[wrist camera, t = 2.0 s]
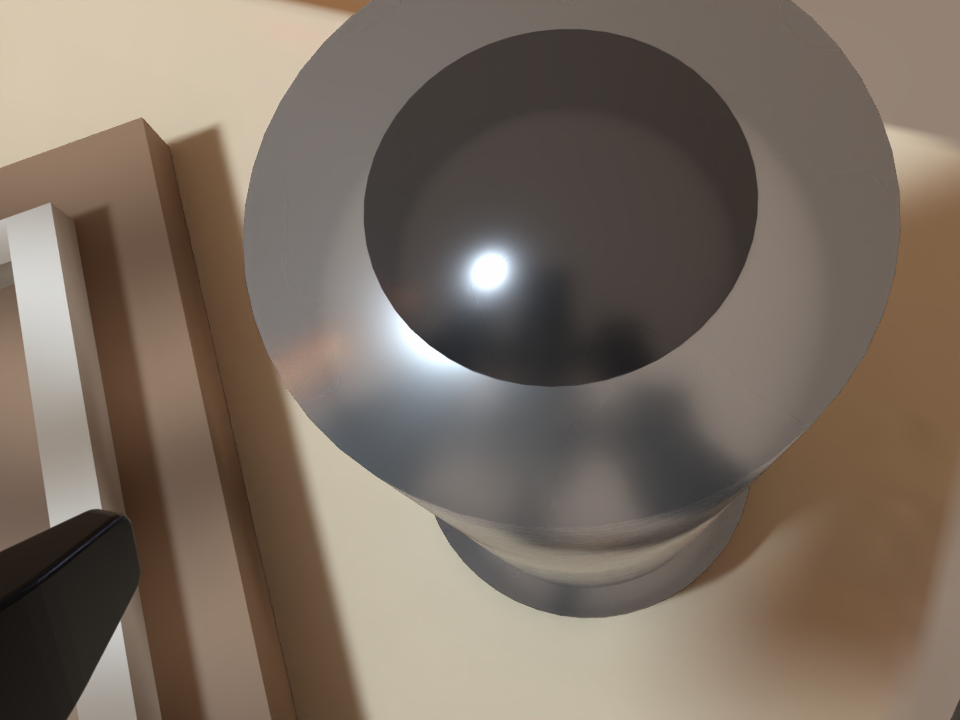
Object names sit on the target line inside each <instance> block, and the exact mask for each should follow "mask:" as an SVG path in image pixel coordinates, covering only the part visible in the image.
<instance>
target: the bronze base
mask: <svg viewBox="0 0 960 720" xmlns="http://www.w3.org/2000/svg"><path fill="white" fill-rule="evenodd" d="M91 509H102V510H107V511H113V512H118V513H123V514H124V515H127V517H128V518H129V519H130V521H131V523H132V527H133V532H134V537H135V541H136V546H137V551H138V556H139V560H140V565H141V575H140V581H139V584H138V587H137V589H136V591H135V593H134V595H133V597H132V599H131V601H130V603H129V605H128V607H127V609H126V611H125V613H124V615H123V617H122V618H121V620H120V622H119V624H118V626H117V628H116V630H115V632H114V634H113V636H112V638H111V640H110V642H109V644H108V645H107V647H106V649H105V651H104V653H103V655H102V657H101V659H100V661H99V663H98V665H97V667H96V669H95V671H94V672H93V674H92V676H91V678H90V680H89V682H88V684H87V686H86V688H85V690H84V691H83V693H82V695H81V697H80V699H79V700H78V702H77V704H76V706H75V707H74V709H73V711H72V712H71V714H70V716H69V717H68V719H67V720H297V718H296V713H295V709H294V704H293V700H292V695H291V691H290V687H289V682H288V678H287V673H286V669H285V664H284V660H283V655H282V651H281V646H280V642H279V637H278V633H277V628H276V624H275V619H274V615H273V610H272V606H271V601H270V597H269V593H268V588H267V584H266V579H265V575H264V570H263V566H262V561H261V557H260V552H259V548H258V543H257V539H256V534H255V530H254V525H253V521H252V516H251V512H250V508H249V503H248V499H247V494H246V490H245V485H244V481H243V476H242V472H241V467H240V463H239V458H238V454H237V449H236V445H235V440H234V436H233V431H232V427H231V422H230V418H229V414H228V409H227V405H226V400H225V396H224V391H223V387H222V382H221V378H220V373H219V369H218V364H217V360H216V355H215V351H214V346H213V342H212V337H211V333H210V328H209V324H208V320H207V315H206V311H205V306H204V302H203V297H202V293H201V288H200V284H199V279H198V275H197V270H196V266H195V261H194V257H193V252H192V248H191V243H190V239H189V235H188V230H187V226H186V221H185V217H184V212H183V208H182V203H181V199H180V194H179V190H178V185H177V181H176V176H175V172H174V167H173V163H172V158H171V154H170V149H169V146H168V145H167V144H166V143H165V142H164V141H163V140H162V139H161V138H160V137H159V135H158V134H157V133H156V132H155V131H154V130H153V129H152V128H151V127H150V125H149V124H148V123H147V122H146V121H145V120H144V119H143V118H139V119H136V120H133V121H130V122H128V123H125V124H122V125H119V126H116V127H114V128H111V129H108V130H105V131H102V132H100V133H97V134H94V135H91V136H88V137H86V138H83V139H80V140H77V141H74V142H72V143H69V144H66V145H63V146H60V147H58V148H55V149H52V150H49V151H47V152H44V153H41V154H38V155H35V156H33V157H30V158H27V159H24V160H21V161H19V162H16V163H13V164H10V165H7V166H5V167H2V168H0V551H2V550H4V549H6V548H8V547H11V546H13V545H15V544H17V543H19V542H21V541H23V540H25V539H28V538H30V537H32V536H34V535H36V534H38V533H40V532H43V531H45V530H47V529H49V528H51V527H53V526H55V525H58V524H60V523H62V522H64V521H66V520H68V519H70V518H73V517H75V516H77V515H79V514H81V513H83V512H85V511H88V510H91Z"/></svg>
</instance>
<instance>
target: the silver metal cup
mask: <svg viewBox="0 0 960 720" xmlns="http://www.w3.org/2000/svg"><path fill="white" fill-rule="evenodd" d="M899 239H900V197H899V186H898V180H897V175H896V169H895V164H894V158H893V153H892V149H891V146H890V143H889V140H888V137H887V134H886V131H885V128H884V125H883V122H882V119H881V117H880V114H879V111H878V110H877V108H876V106H875V104H874V102H873V100H872V98H871V96H870V94H869V92H868V90H867V88H866V86H865V84H864V82H863V80H862V79H861V77H860V75H859V74H858V73H857V71H856V70H855V68H854V67H853V66H852V64H851V63H850V61H849V60H848V59H847V57H846V56H845V54H844V53H843V51H842V50H841V49H840V47H839V46H838V45H837V44H836V43H835V42H834V41H833V40H832V38H830V36H829V35H828V34H827V33H826V32H825V31H824V30H823V29H822V28H821V27H820V26H819V25H818V24H817V22H816V21H815V20H814V19H813V18H812V17H811V16H809V15H808V14H807V13H806V12H804V11H803V10H802V9H801V8H800V7H798V6H797V5H796V4H795V3H793V2H792V1H791V0H372V1H371V2H369V3H368V4H367V5H365V6H364V7H363V8H362V9H360V10H359V11H358V12H356V13H355V14H354V15H352V16H351V17H350V18H349V19H348V20H347V21H346V22H345V23H344V24H343V25H342V26H341V27H340V28H339V29H337V30H336V31H335V32H334V33H333V34H332V35H331V36H330V37H329V38H328V39H327V40H326V41H325V42H324V43H323V44H322V46H321V47H320V48H319V49H318V50H317V52H316V53H315V54H314V55H313V56H312V57H311V59H310V60H309V61H308V62H307V63H306V65H305V66H304V67H303V68H302V69H301V71H300V72H299V74H298V75H297V77H296V78H295V80H294V82H293V83H292V85H291V86H290V88H289V89H288V91H287V92H286V94H285V95H284V97H283V98H282V100H281V102H280V104H279V106H278V108H277V110H276V112H275V114H274V116H273V118H272V120H271V122H270V124H269V126H268V128H267V130H266V132H265V134H264V137H263V140H262V143H261V146H260V149H259V152H258V155H257V158H256V160H255V163H254V166H253V169H252V174H251V179H250V184H249V189H248V194H247V199H246V204H245V217H244V232H243V251H244V265H245V278H246V284H247V288H248V293H249V298H250V302H251V307H252V311H253V316H254V319H255V322H256V324H257V327H258V330H259V332H260V335H261V338H262V340H263V343H264V346H265V348H266V351H267V353H268V355H269V357H270V359H271V361H272V363H273V364H274V366H275V368H276V370H277V372H278V374H279V375H280V377H281V379H282V381H283V383H284V384H285V386H286V388H287V389H288V391H289V392H290V393H291V395H292V396H293V397H294V399H295V400H296V401H297V403H298V404H299V405H300V407H301V408H302V409H303V411H304V412H305V413H306V415H307V416H308V417H309V419H310V420H311V421H312V422H313V423H314V424H315V425H316V426H317V427H318V428H319V429H320V430H321V431H322V432H323V433H324V434H325V435H326V436H327V437H328V438H329V439H330V440H331V441H332V442H333V443H334V444H335V445H336V446H337V447H338V448H339V449H340V450H342V451H343V452H344V453H346V454H347V455H348V456H350V457H351V458H352V459H354V460H355V461H356V462H358V463H359V464H360V465H362V466H363V467H364V468H366V469H367V470H368V471H370V472H371V473H372V474H374V475H375V476H377V477H378V478H380V479H381V480H383V481H384V482H386V483H387V484H389V485H390V486H392V487H393V488H395V489H396V490H398V491H399V492H401V493H402V494H404V495H405V496H407V497H408V498H410V499H411V500H413V501H414V502H416V503H417V504H419V505H421V506H422V507H424V508H425V509H427V510H428V511H430V512H431V513H433V514H434V515H435V517H436V519H437V521H438V524H439V526H440V528H441V530H442V531H443V533H444V535H445V536H446V538H447V540H448V542H449V543H450V545H451V546H452V547H453V549H454V550H455V551H456V553H457V554H458V555H459V556H460V558H461V559H462V560H463V562H464V563H465V564H466V565H467V566H468V567H469V568H470V569H471V570H473V571H474V572H475V573H476V574H477V575H478V576H479V577H480V578H481V579H482V580H484V581H485V582H486V583H488V584H489V585H490V586H492V587H493V588H494V589H496V590H497V591H499V592H501V593H502V594H504V595H506V596H508V597H509V598H511V599H513V600H515V601H517V602H519V603H522V604H524V605H527V606H529V607H532V608H534V609H537V610H540V611H544V612H548V613H552V614H556V615H560V616H568V617H577V618H606V617H612V616H618V615H624V614H628V613H631V612H635V611H638V610H641V609H645V608H647V607H649V606H652V605H654V604H656V603H658V602H660V601H662V600H665V599H667V598H669V597H671V596H672V595H674V594H675V593H677V592H678V591H680V590H681V589H683V588H685V587H686V586H688V585H689V584H690V583H691V582H692V581H694V580H695V579H696V578H697V577H698V576H699V575H701V574H702V573H703V572H704V571H705V570H706V569H707V568H708V567H709V566H710V565H711V563H712V562H713V561H714V560H715V559H716V558H717V557H718V555H719V554H720V553H721V552H722V550H723V548H724V547H725V545H726V544H727V542H728V541H729V539H730V538H731V536H732V535H733V533H734V530H735V528H736V526H737V524H738V522H739V520H740V518H741V516H742V513H743V510H744V506H745V503H746V500H747V497H748V493H749V487H750V484H751V483H753V482H754V481H755V480H756V479H757V478H758V477H759V476H760V475H761V474H762V473H763V472H764V471H765V470H766V469H767V468H768V467H769V466H770V465H771V464H772V463H773V462H774V461H775V460H776V459H777V458H778V457H779V456H780V455H781V454H782V453H783V452H785V451H786V450H787V449H788V448H789V447H790V446H791V445H792V444H793V443H794V442H795V441H796V440H797V439H798V438H799V437H800V436H801V435H802V434H803V433H804V432H805V431H806V430H807V429H808V428H809V427H810V426H811V425H812V424H813V423H814V422H815V421H816V419H817V418H818V417H819V416H820V415H821V414H822V413H823V411H824V410H825V409H826V408H827V407H828V406H829V405H830V403H831V402H832V401H833V400H834V399H835V398H836V397H837V396H838V394H839V393H840V392H841V391H842V389H843V387H844V386H845V384H846V383H847V381H848V380H849V378H850V377H851V375H852V374H853V372H854V371H855V369H856V368H857V366H858V364H859V363H860V361H861V360H862V358H863V357H864V355H865V353H866V351H867V349H868V347H869V345H870V342H871V340H872V338H873V336H874V334H875V332H876V329H877V327H878V325H879V323H880V321H881V318H882V316H883V314H884V310H885V307H886V303H887V300H888V296H889V293H890V289H891V286H892V282H893V279H894V275H895V270H896V262H897V254H898V247H899Z"/></svg>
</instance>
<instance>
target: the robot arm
mask: <svg viewBox="0 0 960 720" xmlns="http://www.w3.org/2000/svg"><path fill="white" fill-rule="evenodd" d="M140 575H141V565H140V560H139V556H138V551H137V546H136V541H135V537H134V532H133V527H132V523H131V521H130V519H129V518H128V517H127V515H124V514H123V513H118V512H113V511H107V510H102V509H91V510H88V511H85V512H83V513H81V514H79V515H77V516H75V517H73V518H70V519H68V520H66V521H64V522H62V523H60V524H58V525H55V526H53V527H51V528H49V529H47V530H45V531H43V532H40V533H38V534H36V535H34V536H32V537H30V538H28V539H25V540H23V541H21V542H19V543H17V544H15V545H13V546H11V547H8V548H6V549H4V550H2V551H0V720H67V719H68V717H69V716H70V714H71V712H72V711H73V709H74V707H75V706H76V704H77V702H78V700H79V699H80V697H81V695H82V693H83V691H84V690H85V688H86V686H87V684H88V682H89V680H90V678H91V676H92V674H93V672H94V671H95V669H96V667H97V665H98V663H99V661H100V659H101V657H102V655H103V653H104V651H105V649H106V647H107V645H108V644H109V642H110V640H111V638H112V636H113V634H114V632H115V630H116V628H117V626H118V624H119V622H120V620H121V618H122V617H123V615H124V613H125V611H126V609H127V607H128V605H129V603H130V601H131V599H132V597H133V595H134V593H135V591H136V589H137V587H138V584H139V581H140ZM951 720H960V700H959V702H958V704H957V707H956V709H955V711H954V713H953V716H952V718H951Z"/></svg>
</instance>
